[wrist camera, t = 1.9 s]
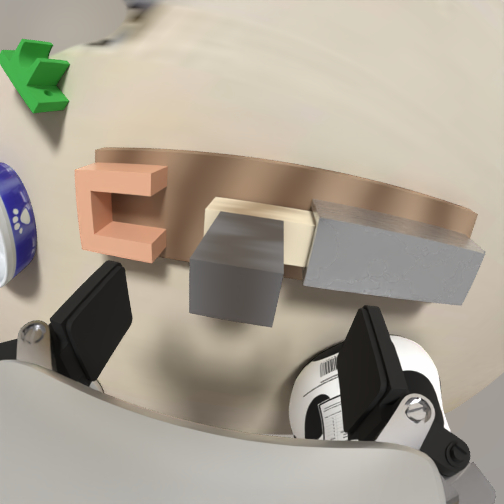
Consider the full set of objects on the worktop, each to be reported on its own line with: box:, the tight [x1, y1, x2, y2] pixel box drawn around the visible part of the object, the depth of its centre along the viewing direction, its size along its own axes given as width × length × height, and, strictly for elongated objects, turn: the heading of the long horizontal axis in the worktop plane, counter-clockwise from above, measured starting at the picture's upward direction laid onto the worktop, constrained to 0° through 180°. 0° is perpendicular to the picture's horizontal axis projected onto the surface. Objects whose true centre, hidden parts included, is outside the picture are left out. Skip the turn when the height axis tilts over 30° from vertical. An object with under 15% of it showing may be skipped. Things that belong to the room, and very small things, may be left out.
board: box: [95, 148, 478, 280], centre depth 22 cm, size 34×9×2 cm, turn 83°
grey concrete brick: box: [301, 199, 485, 305], centre depth 19 cm, size 15×5×4 cm, turn 83°
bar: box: [189, 197, 316, 327], centre depth 16 cm, size 20×3×10 cm, turn 83°
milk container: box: [289, 335, 451, 441], centre depth 22 cm, size 17×17×18 cm
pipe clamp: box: [0, 39, 70, 113], centre depth 15 cm, size 11×4×5 cm, turn 41°
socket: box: [75, 163, 168, 263], centre depth 20 cm, size 7×7×3 cm
